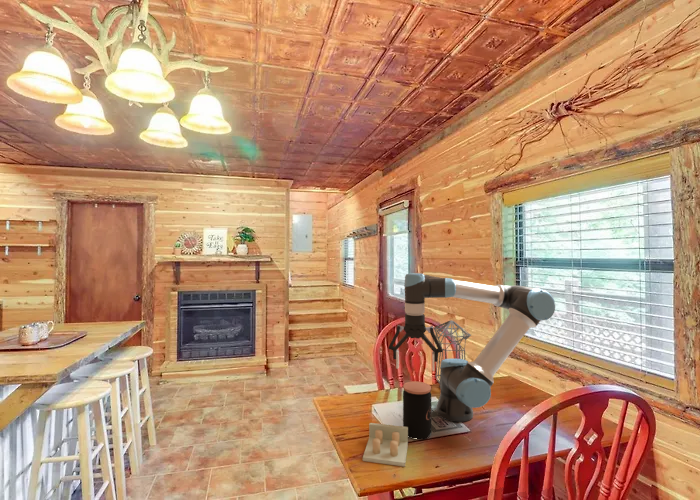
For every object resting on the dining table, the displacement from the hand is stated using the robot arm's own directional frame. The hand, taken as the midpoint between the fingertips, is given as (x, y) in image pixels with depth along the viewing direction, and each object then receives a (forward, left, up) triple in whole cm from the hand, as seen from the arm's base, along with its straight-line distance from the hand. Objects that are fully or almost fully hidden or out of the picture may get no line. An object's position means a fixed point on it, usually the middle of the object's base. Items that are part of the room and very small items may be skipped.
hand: (415, 368), depth 135 cm
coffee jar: (-1, 0, -25) cm, 25 cm away
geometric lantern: (-16, -46, -25) cm, 54 cm away
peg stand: (+9, +15, -25) cm, 30 cm away
